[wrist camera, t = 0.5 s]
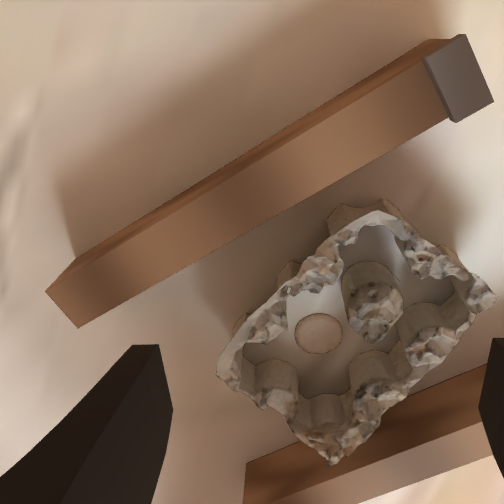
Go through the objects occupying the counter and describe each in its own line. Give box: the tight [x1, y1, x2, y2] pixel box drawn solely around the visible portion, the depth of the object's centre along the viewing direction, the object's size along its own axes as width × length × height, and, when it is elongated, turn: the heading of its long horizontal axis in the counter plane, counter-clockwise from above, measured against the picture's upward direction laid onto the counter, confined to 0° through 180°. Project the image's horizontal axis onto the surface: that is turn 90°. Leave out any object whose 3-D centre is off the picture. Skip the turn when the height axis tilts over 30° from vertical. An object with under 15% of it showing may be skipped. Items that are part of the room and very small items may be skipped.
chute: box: [45, 34, 494, 504], centre depth 20 cm, size 17×17×4 cm
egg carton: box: [215, 199, 498, 467], centre depth 20 cm, size 11×8×4 cm
